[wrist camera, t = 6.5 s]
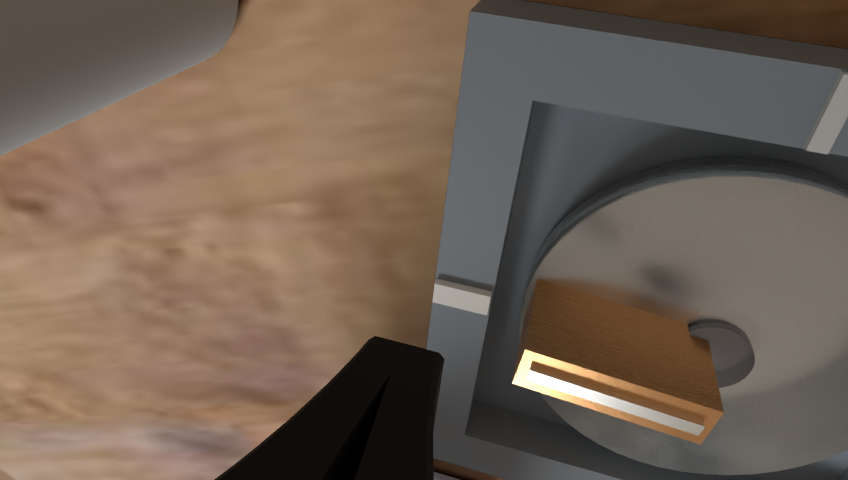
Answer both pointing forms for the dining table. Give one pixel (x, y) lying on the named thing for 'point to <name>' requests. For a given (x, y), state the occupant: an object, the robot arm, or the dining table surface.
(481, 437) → the slate tray
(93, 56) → the beverage can
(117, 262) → the dining table surface
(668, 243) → the dial
